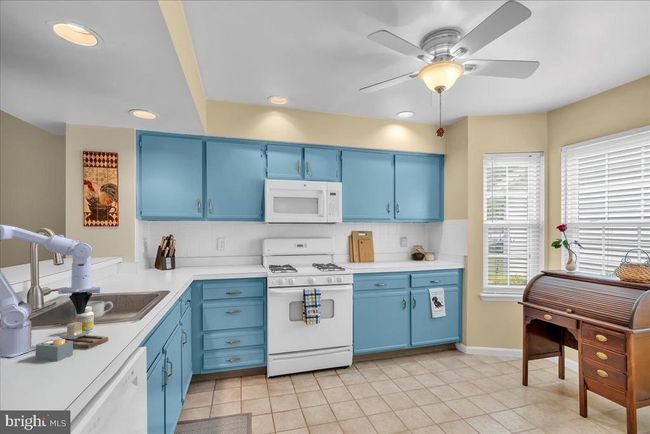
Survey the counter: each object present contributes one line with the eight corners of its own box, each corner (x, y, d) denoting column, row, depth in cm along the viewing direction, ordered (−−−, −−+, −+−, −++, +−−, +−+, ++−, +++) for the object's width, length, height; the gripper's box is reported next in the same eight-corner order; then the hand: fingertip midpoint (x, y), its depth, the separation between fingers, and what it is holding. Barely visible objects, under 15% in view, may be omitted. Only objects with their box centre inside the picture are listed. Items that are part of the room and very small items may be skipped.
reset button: (50, 357, 102) (50, 341, 102) (59, 354, 105) (60, 338, 105) (57, 358, 101) (58, 342, 102) (67, 354, 104) (67, 339, 105)
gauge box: (35, 359, 102) (35, 343, 102) (51, 352, 107) (52, 337, 107) (57, 361, 100) (57, 345, 100) (72, 354, 105) (73, 339, 105)
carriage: (59, 338, 114) (60, 325, 114) (75, 332, 119) (75, 320, 119) (73, 339, 113) (74, 326, 113) (88, 333, 118) (88, 321, 118)
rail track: (54, 346, 113) (55, 339, 113) (76, 338, 121) (76, 332, 121) (88, 349, 110) (88, 342, 110) (108, 341, 118) (108, 334, 118)
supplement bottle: (90, 333, 126) (90, 308, 127) (74, 334, 125) (74, 309, 125) (95, 329, 132) (96, 305, 132) (80, 330, 130) (80, 306, 130)
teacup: (69, 324, 137) (69, 306, 137) (81, 317, 148) (81, 300, 148) (106, 322, 141) (107, 303, 141) (115, 315, 151) (116, 298, 151)
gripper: (51, 277, 113) (51, 316, 113) (94, 277, 114) (94, 316, 113) (66, 274, 120) (66, 311, 120) (107, 274, 121) (106, 310, 120)
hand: (80, 313), depth 117 cm, fingers closed
